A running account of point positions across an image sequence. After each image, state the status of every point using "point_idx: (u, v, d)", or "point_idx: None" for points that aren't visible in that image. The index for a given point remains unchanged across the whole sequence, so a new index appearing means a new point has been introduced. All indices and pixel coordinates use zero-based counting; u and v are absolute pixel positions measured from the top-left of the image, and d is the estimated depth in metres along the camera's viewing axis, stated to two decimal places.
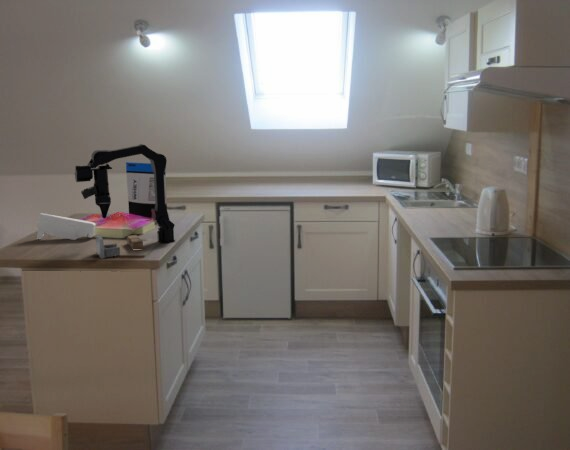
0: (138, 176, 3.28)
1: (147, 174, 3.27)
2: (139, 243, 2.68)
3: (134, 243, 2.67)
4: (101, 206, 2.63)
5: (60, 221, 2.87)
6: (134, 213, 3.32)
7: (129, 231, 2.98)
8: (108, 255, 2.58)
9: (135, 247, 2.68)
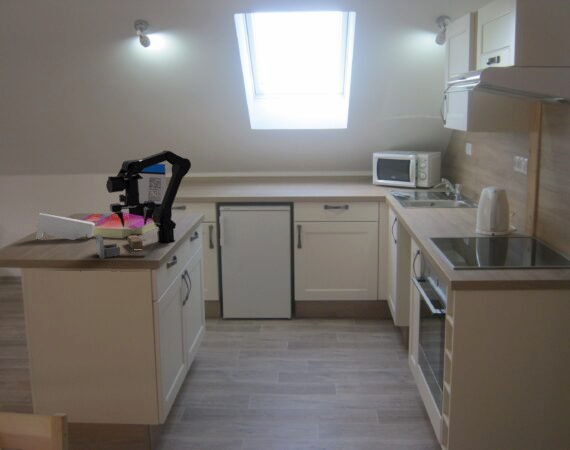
0: None
1: (147, 174, 3.27)
2: (139, 243, 2.68)
3: (134, 243, 2.67)
4: (118, 214, 2.70)
5: (59, 221, 2.87)
6: (134, 213, 3.32)
7: (129, 231, 2.98)
8: (108, 255, 2.58)
9: (135, 247, 2.68)
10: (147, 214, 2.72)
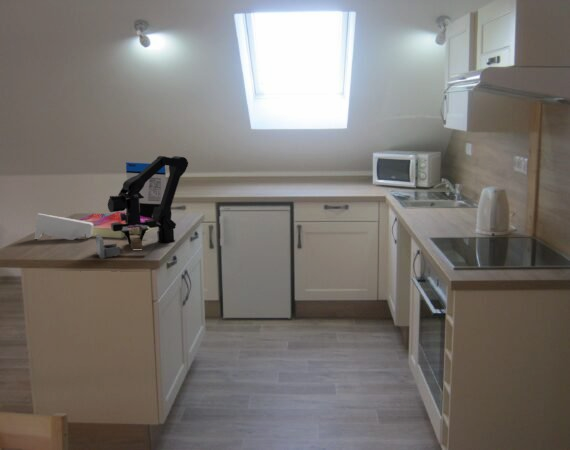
0: None
1: None
2: (138, 243, 2.68)
3: (133, 243, 2.67)
4: (125, 232, 2.73)
5: (58, 221, 2.87)
6: None
7: None
8: (108, 255, 2.58)
9: (134, 247, 2.68)
10: (142, 233, 2.73)
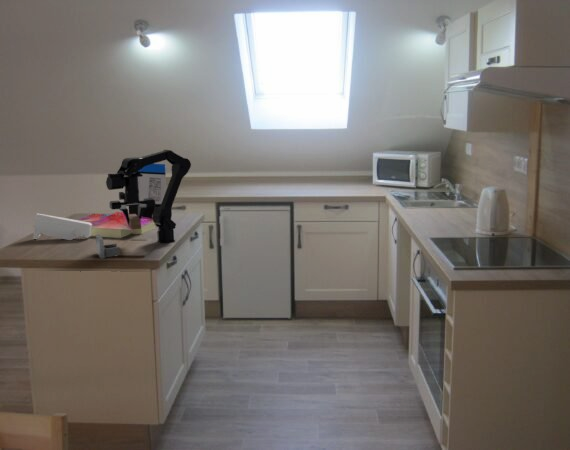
0: None
1: (147, 174, 3.27)
2: (137, 221, 2.66)
3: (132, 221, 2.65)
4: (123, 211, 2.71)
5: (56, 221, 2.87)
6: (134, 213, 3.32)
7: (128, 231, 2.98)
8: (108, 255, 2.58)
9: (133, 225, 2.66)
10: (141, 212, 2.71)
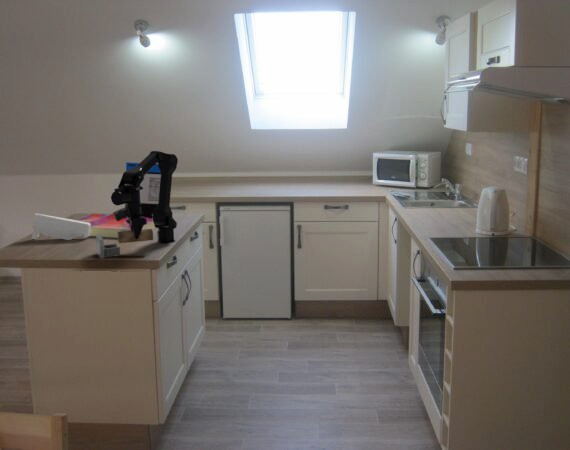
0: None
1: (147, 174, 3.27)
2: None
3: (152, 231, 2.66)
4: (134, 227, 2.60)
5: (55, 221, 2.87)
6: None
7: None
8: (108, 255, 2.58)
9: (152, 235, 2.67)
10: None
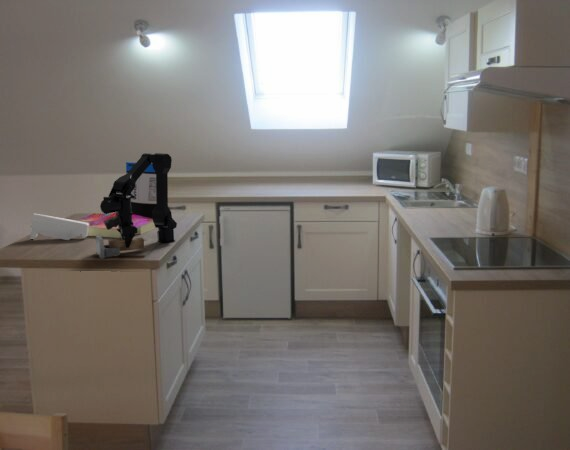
0: None
1: (147, 174, 3.27)
2: None
3: (143, 240, 2.65)
4: (125, 236, 2.59)
5: (53, 221, 2.87)
6: (134, 213, 3.32)
7: None
8: (108, 255, 2.58)
9: (143, 244, 2.65)
10: None
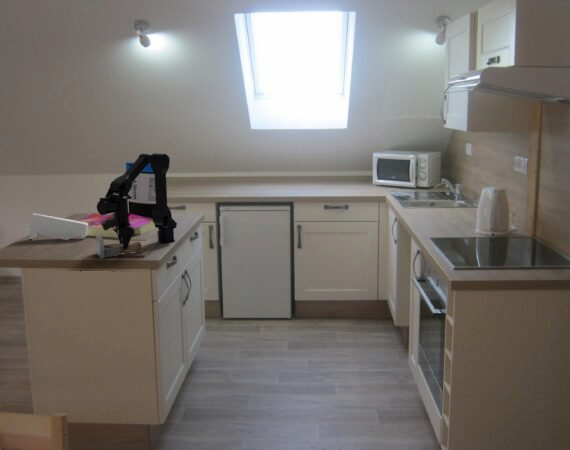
0: (138, 176, 3.28)
1: (147, 174, 3.27)
2: None
3: (140, 244, 2.65)
4: (123, 237, 2.58)
5: (52, 221, 2.87)
6: (134, 213, 3.32)
7: None
8: (108, 255, 2.58)
9: None
10: None
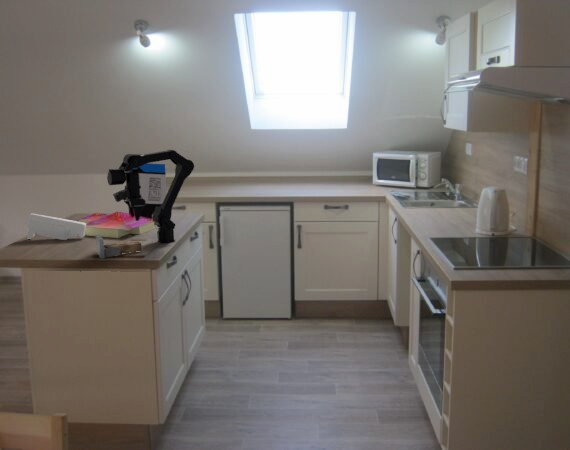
0: None
1: (147, 174, 3.27)
2: None
3: None
4: (135, 209, 2.68)
5: (50, 221, 2.87)
6: None
7: (126, 231, 2.98)
8: (108, 255, 2.58)
9: None
10: None
